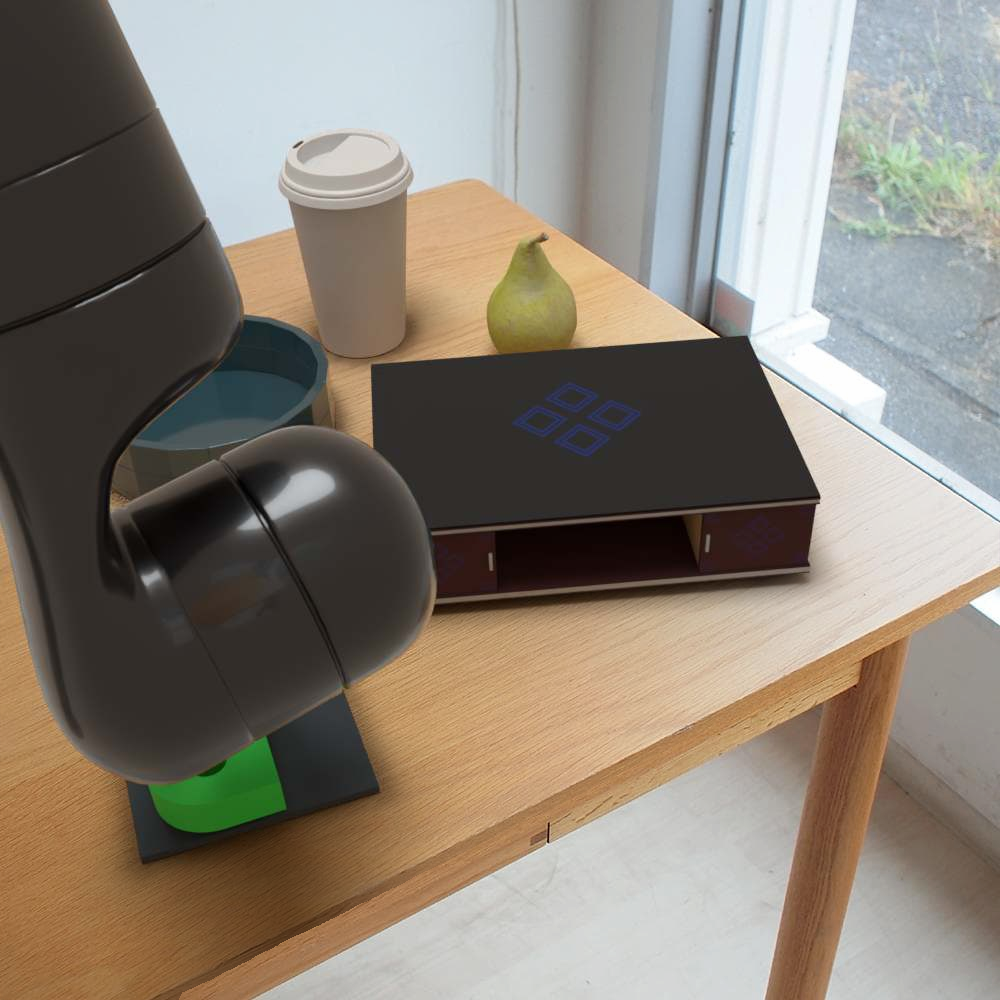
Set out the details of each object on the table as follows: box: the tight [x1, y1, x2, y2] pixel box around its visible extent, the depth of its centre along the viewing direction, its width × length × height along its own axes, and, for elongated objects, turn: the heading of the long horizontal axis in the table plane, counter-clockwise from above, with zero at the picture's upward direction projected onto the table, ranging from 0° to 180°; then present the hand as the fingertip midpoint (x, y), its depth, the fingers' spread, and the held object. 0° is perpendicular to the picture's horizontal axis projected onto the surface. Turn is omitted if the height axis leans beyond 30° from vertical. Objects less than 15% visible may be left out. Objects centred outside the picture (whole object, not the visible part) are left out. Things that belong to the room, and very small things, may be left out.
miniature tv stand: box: [370, 334, 822, 606], centre depth 82 cm, size 17×25×7 cm
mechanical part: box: [148, 736, 287, 833], centre depth 66 cm, size 12×6×8 cm, turn 20°
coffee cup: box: [277, 128, 414, 359], centre depth 97 cm, size 10×10×15 cm
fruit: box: [486, 232, 578, 354], centre depth 95 cm, size 7×8×12 cm
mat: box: [125, 688, 381, 864], centre depth 69 cm, size 12×10×1 cm
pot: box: [112, 313, 336, 501], centre depth 90 cm, size 16×16×5 cm
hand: (219, 649), depth 67 cm, fingers closed on mechanical part
